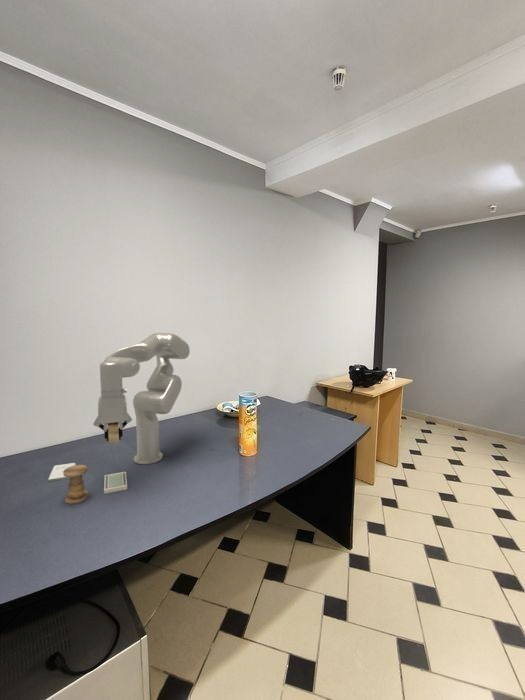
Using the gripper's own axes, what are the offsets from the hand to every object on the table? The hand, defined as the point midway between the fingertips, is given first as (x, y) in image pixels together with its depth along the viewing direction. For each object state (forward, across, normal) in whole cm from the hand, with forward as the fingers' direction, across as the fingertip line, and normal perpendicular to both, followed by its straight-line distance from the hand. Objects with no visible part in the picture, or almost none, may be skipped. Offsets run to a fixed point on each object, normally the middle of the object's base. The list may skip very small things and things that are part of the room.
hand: (113, 438), depth 129 cm
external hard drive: (+19, +20, -18) cm, 33 cm away
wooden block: (+1, 0, 0) cm, 1 cm away
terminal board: (+19, 0, 0) cm, 19 cm away
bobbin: (+19, +13, +5) cm, 23 cm away
